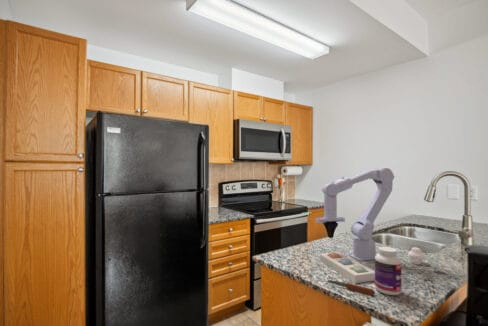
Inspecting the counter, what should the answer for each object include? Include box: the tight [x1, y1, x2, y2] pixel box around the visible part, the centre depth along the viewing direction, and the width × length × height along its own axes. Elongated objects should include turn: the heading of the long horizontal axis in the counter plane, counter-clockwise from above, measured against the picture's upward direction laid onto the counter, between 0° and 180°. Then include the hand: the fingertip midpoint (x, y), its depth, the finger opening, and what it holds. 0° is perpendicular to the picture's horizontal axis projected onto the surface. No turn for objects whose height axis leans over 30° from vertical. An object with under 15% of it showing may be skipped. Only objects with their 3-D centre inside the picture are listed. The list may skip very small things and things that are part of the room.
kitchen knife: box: [326, 279, 376, 296], centre depth 90 cm, size 16×1×2 cm, turn 55°
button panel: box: [319, 251, 375, 284], centre depth 108 cm, size 10×24×3 cm, turn 15°
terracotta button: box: [329, 252, 340, 259], centre depth 115 cm, size 4×4×2 cm
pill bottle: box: [374, 246, 403, 296], centre depth 89 cm, size 8×8×14 cm
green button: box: [353, 266, 365, 273], centre depth 100 cm, size 4×4×2 cm
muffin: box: [407, 246, 426, 265], centre depth 115 cm, size 6×6×7 cm
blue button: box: [340, 259, 352, 265], centre depth 108 cm, size 4×4×2 cm
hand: (330, 237), depth 122 cm, fingers closed
